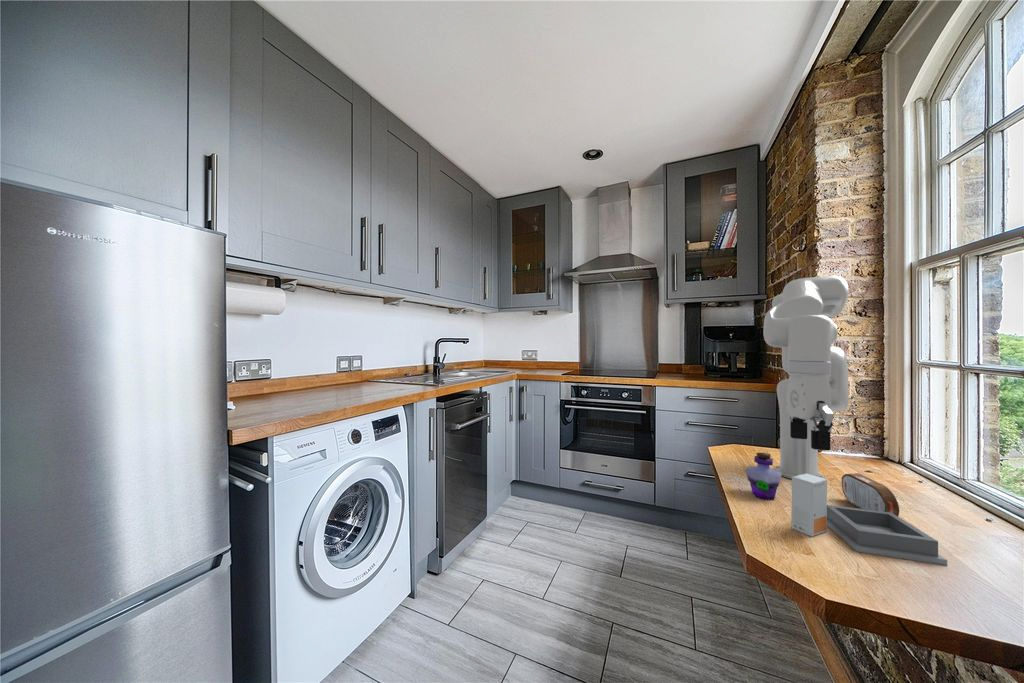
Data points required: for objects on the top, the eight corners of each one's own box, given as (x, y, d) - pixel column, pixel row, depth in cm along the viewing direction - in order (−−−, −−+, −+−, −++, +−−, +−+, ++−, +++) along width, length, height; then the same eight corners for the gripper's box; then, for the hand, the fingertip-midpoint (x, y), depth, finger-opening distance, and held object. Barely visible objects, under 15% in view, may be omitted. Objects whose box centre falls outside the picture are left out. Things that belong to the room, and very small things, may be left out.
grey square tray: (819, 519, 84) (819, 502, 84) (893, 528, 80) (893, 511, 80) (856, 551, 71) (856, 531, 71) (947, 565, 67) (947, 544, 67)
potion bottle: (750, 500, 95) (750, 456, 95) (741, 487, 103) (741, 447, 103) (788, 505, 92) (788, 459, 92) (775, 492, 100) (775, 450, 100)
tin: (901, 527, 81) (900, 491, 81) (885, 525, 81) (884, 490, 82) (852, 499, 96) (851, 469, 96) (838, 498, 96) (838, 468, 96)
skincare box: (812, 537, 76) (812, 483, 76) (790, 528, 80) (790, 476, 80) (828, 532, 78) (827, 479, 79) (805, 523, 82) (805, 472, 82)
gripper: (773, 366, 89) (774, 433, 89) (808, 370, 73) (808, 452, 72) (809, 367, 87) (809, 436, 86) (853, 372, 70) (853, 456, 70)
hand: (809, 443), depth 79 cm, fingers open, 9 cm apart
